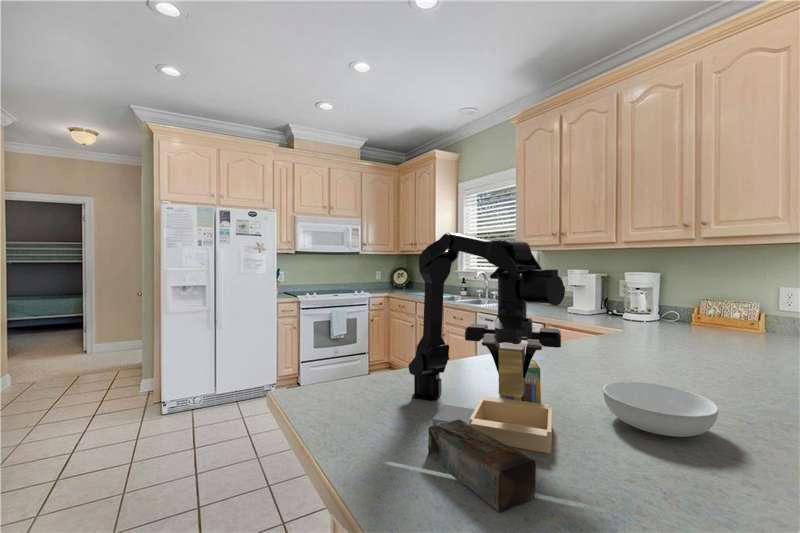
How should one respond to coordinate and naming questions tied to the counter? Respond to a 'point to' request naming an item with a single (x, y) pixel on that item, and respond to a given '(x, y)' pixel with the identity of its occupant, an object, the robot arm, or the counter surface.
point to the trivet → (453, 414)
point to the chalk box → (530, 386)
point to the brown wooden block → (511, 369)
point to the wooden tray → (515, 422)
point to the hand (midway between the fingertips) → (512, 376)
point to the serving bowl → (660, 408)
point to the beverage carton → (483, 464)
